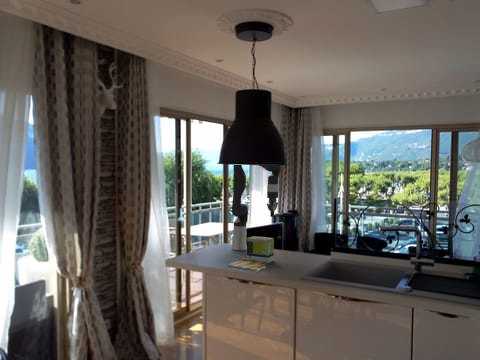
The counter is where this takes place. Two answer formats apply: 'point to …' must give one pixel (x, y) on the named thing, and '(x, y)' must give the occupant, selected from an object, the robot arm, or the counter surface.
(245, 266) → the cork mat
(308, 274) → the counter surface
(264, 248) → the tea box
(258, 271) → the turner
